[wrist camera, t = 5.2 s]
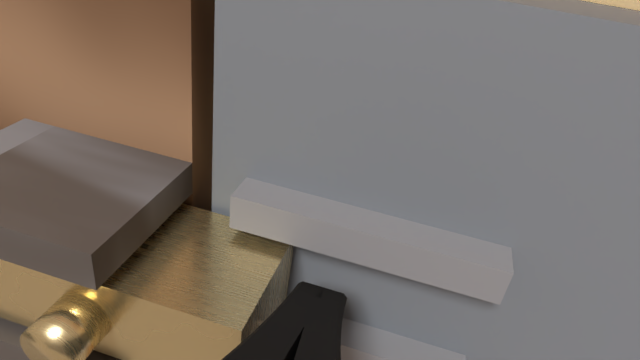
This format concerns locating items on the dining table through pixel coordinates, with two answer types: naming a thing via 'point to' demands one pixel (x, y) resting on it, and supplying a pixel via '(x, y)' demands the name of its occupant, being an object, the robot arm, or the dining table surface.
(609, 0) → the dining table surface
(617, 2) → the dining table surface
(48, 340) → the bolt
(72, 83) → the panel
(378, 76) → the door leaf
